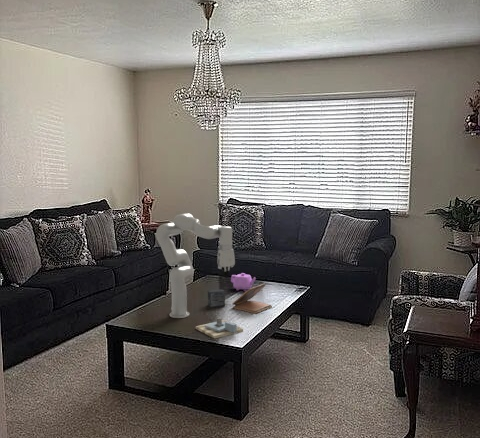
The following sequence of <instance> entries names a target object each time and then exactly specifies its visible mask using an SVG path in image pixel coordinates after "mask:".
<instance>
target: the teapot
mask: <svg viewBox="0 0 480 438" xmlns="http://www.w3.org/2000/svg"><path fill="white" fill-rule="evenodd" d="M256 279H257V278H256V277H255V276H254V277H253V278H252V276H251V275H250V274H246V273H244V272H241V273H239V274H237V275H236V274H232V275H231V277H230V282H231V283H232V284H233V285H232V287H233V288H234V289H236V290H235V291H238V292H239V291H240V290H243V292H246V291H247V290H249V289H250V288H253V284H254V283H255V281H256Z"/></svg>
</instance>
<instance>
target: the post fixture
mask: <svg viewBox="0 0 480 438" xmlns="http://www.w3.org/2000/svg"><path fill="white" fill-rule="evenodd" d="M216 321H217V327H221V326H222V321H223V322H228V321H227V320H225V319H224V320H223V318H222V317H216ZM210 323H211V322H209V323H206V324H200V325H197V326H195V329H196V330H197V331H199V332H201V333H203V334H205V335H207V336H209V337H211V338H212V339H218V338H223V337H226V336H230V335H234V334H238V333H242V332H244V328H242V327H239V326H238V325H237V332H235V333H233V332H230V331H227V330H224V331H221V332H217V331H214V330H211V329H209V328H206V327H205V325H207V324H210ZM233 323H234V324H236V323H235V322H233Z"/></svg>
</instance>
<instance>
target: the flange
mask: <svg viewBox="0 0 480 438" xmlns="http://www.w3.org/2000/svg"><path fill="white" fill-rule="evenodd" d="M209 323H210V324H208V323H206V324H207V325H205V327H206V328H209V329H211V330H214V331H217V332H221V331H224V330H227V331H230V332H233V333H235V332H237V326H238V325H237V323H235V322H231V321H227V322H223V321H222V326H221V327H217V320H216V321H214V322H209ZM234 323H235V324H234ZM235 334H236V333H235Z"/></svg>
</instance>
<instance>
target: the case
mask: <svg viewBox="0 0 480 438" xmlns="http://www.w3.org/2000/svg"><path fill="white" fill-rule="evenodd" d="M265 286H266V283H262V284H259V285H256V286H252V287H251V288H250V289H247V291H244V292H243V293H242V294H241V295H240V296H239V297H238V298H237V299H236V300H234V302H232V305H233V306H232V308H233V309H235V310H238V311H243V312H247V313H251V314H258V313H261V312H264V311H266V310H269V309H271V308H273V305H271V304H268V303H264V302H261V301H255V300H251V299H252V298H254V296H257V294H258V293H260V291H261V290H262V289H264V288H265Z"/></svg>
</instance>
